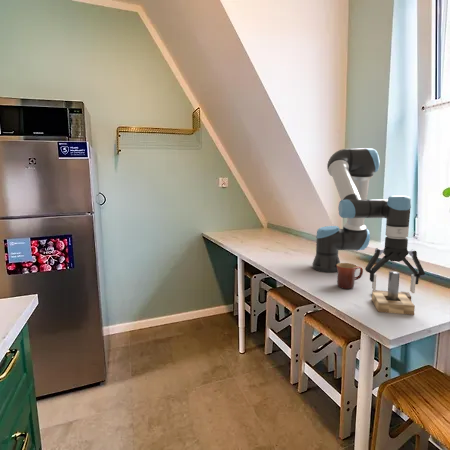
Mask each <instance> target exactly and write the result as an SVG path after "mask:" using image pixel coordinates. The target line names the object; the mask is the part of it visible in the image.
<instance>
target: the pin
mask: <svg viewBox="0 0 450 450" xmlns="http://www.w3.org/2000/svg"><path fill="white" fill-rule="evenodd" d="M400 275H401V273H400V272H399V271H395V270H391V271H390V270H389V271H388V284H387V286H388V287H387V291H388V295H387V300H391V301H398V292H399V288H400Z"/></svg>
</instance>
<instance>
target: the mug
mask: <svg viewBox="0 0 450 450" xmlns="http://www.w3.org/2000/svg"><path fill="white" fill-rule="evenodd" d="M336 266H337V270H338V271H337V279H336V283H337V286H338V288H340V289H343V290H344V289H345V290H350V289H353V288H354V286H355V284H356V283H355V281H357V280H359V279H361V277H362V276H363V273H364V269H363V268H362V267H361V266H358V265H356V264H354V263H348V262H340V263H338V264H336ZM358 269H359V274H358V275H357V276H355V274H356V270H358Z"/></svg>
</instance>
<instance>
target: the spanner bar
mask: <svg viewBox="0 0 450 450" xmlns="http://www.w3.org/2000/svg"><path fill="white" fill-rule="evenodd" d="M371 290H372V292H386V293H388V290H378V289H376V291H373V289H371ZM372 292H371V293H372ZM398 293H400V294H405V295H406V296H407V297H408V298H409V300H410V301H411V302H412V296H411V294H410V292H408V291H398Z"/></svg>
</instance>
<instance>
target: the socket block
mask: <svg viewBox="0 0 450 450" xmlns="http://www.w3.org/2000/svg"><path fill="white" fill-rule="evenodd" d="M387 295H388V293H386V292H371V301H372V303H373V305H374V307H375V308H376V310H377V312H378V313H385V314H386V313H388V314H397V315H398V314H399V315H409V316H411V315H412V316H414V315H415V310H416V309H415V305H414V302H412V300H411V301H410V300H409V298H408V297H407V296H406V295H405V294H400V293H398V301H391V300H387Z"/></svg>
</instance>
